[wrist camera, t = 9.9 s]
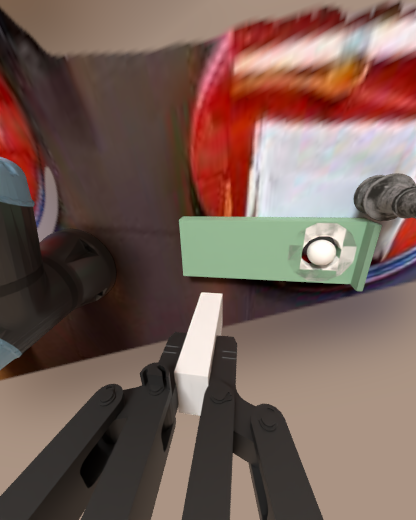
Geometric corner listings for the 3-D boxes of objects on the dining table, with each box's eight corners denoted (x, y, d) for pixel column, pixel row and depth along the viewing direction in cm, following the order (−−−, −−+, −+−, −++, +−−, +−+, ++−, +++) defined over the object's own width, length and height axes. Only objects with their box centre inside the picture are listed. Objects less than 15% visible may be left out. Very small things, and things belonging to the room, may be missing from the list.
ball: (310, 269, 32) (338, 269, 32) (315, 243, 31) (344, 243, 30) (301, 259, 36) (325, 260, 36) (305, 236, 34) (330, 236, 34)
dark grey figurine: (396, 211, 31) (477, 235, 20) (350, 218, 32) (404, 244, 21) (400, 168, 29) (494, 168, 18) (352, 177, 30) (412, 183, 19)
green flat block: (186, 269, 40) (180, 281, 36) (183, 216, 36) (175, 222, 32) (348, 277, 36) (362, 291, 32) (364, 217, 32) (382, 225, 28)
